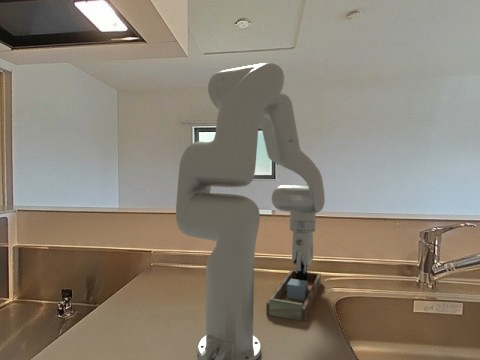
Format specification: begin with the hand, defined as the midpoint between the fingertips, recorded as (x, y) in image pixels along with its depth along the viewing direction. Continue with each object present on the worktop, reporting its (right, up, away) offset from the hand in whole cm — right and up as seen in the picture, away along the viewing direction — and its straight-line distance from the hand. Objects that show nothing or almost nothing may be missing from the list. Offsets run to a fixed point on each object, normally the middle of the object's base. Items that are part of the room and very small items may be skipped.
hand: (301, 285), depth 100 cm
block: (-2, -1, -5) cm, 6 cm away
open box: (-2, -1, -6) cm, 7 cm away
